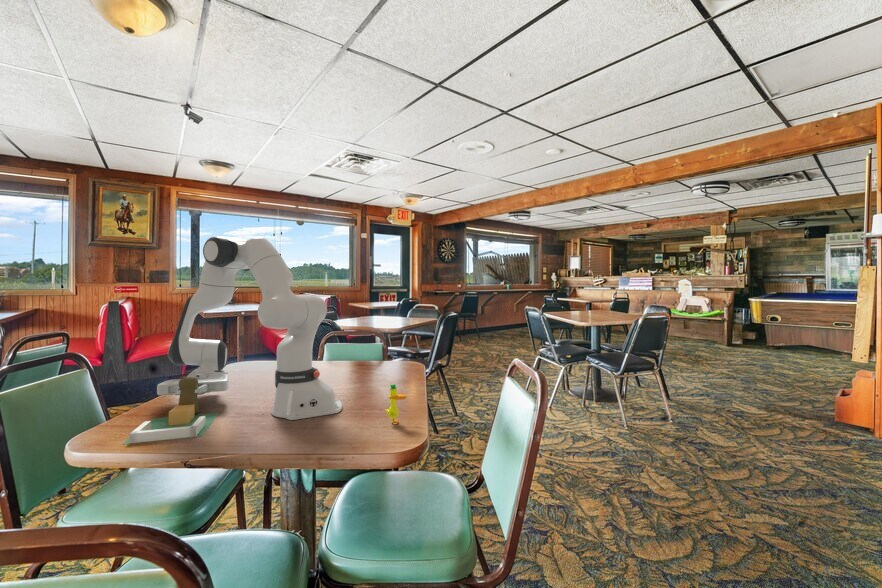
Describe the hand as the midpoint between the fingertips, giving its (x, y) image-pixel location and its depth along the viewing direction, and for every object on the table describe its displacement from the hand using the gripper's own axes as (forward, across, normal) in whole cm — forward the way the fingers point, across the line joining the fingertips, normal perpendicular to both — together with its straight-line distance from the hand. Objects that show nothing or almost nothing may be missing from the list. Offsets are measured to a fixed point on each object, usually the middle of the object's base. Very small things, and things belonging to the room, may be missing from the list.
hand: (187, 392), depth 118 cm
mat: (+10, 0, +8) cm, 13 cm away
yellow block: (+5, 0, +8) cm, 9 cm away
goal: (+15, 0, +8) cm, 17 cm away
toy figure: (+25, +62, +8) cm, 67 cm away
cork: (-1, 0, +7) cm, 7 cm away
